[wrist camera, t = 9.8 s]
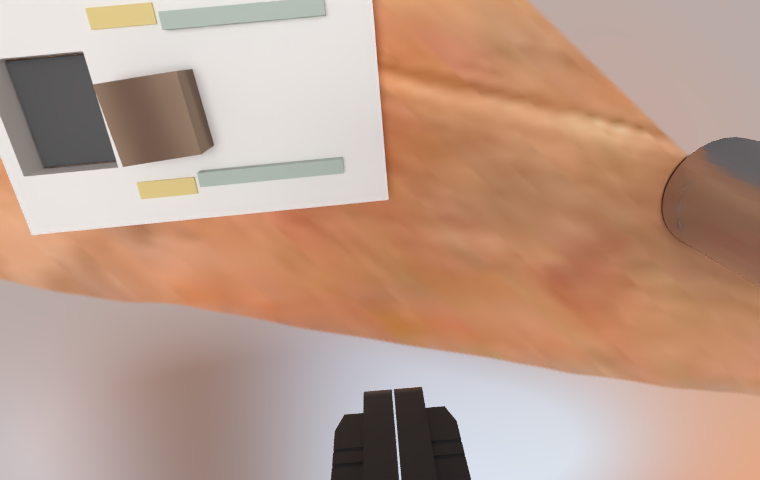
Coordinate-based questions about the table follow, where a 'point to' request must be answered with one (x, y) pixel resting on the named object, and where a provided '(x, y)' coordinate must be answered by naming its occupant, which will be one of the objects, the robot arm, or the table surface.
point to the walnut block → (155, 117)
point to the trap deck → (219, 98)
